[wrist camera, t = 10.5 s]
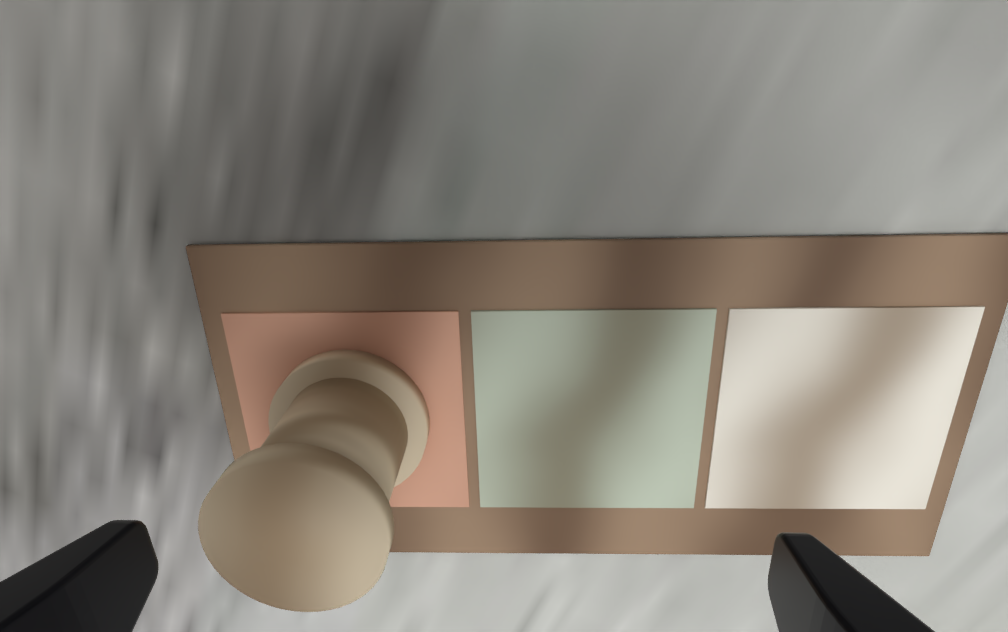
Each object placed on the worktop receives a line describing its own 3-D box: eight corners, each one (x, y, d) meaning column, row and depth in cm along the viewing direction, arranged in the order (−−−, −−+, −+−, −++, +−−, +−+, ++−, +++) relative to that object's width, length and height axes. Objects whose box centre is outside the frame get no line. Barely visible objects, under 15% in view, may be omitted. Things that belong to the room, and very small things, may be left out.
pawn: (424, 349, 20) (385, 455, 14) (434, 481, 22) (404, 618, 16) (265, 349, 20) (169, 454, 15) (290, 481, 22) (213, 616, 17)
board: (1023, 233, 18) (1031, 235, 18) (925, 552, 22) (931, 558, 22) (189, 244, 19) (183, 247, 19) (257, 547, 23) (254, 552, 23)
